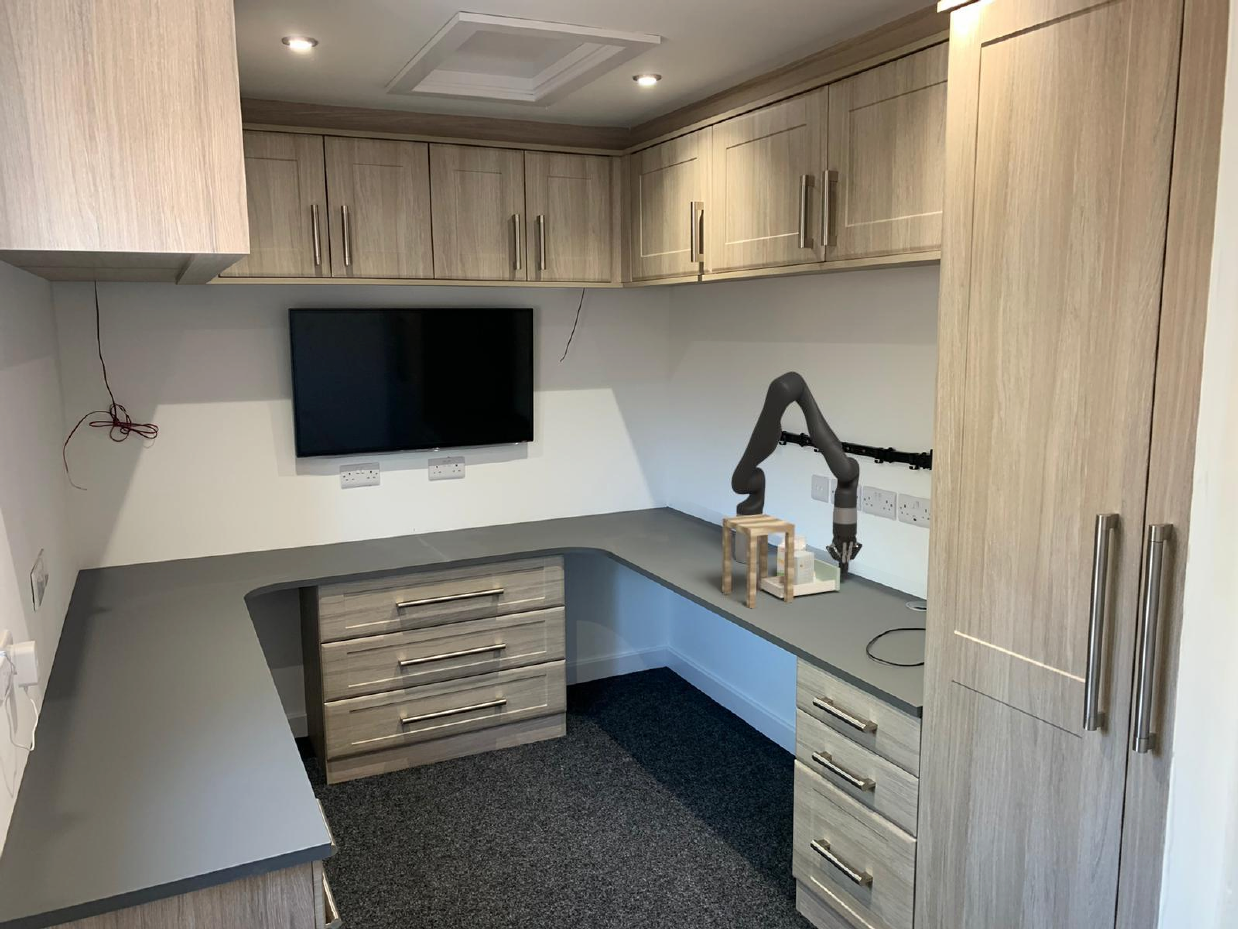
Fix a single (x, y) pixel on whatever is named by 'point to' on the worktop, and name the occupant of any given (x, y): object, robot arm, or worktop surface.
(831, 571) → the drawer
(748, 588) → the wooden step stool
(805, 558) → the small box
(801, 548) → the ink box
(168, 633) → the worktop surface
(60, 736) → the worktop surface
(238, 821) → the worktop surface
